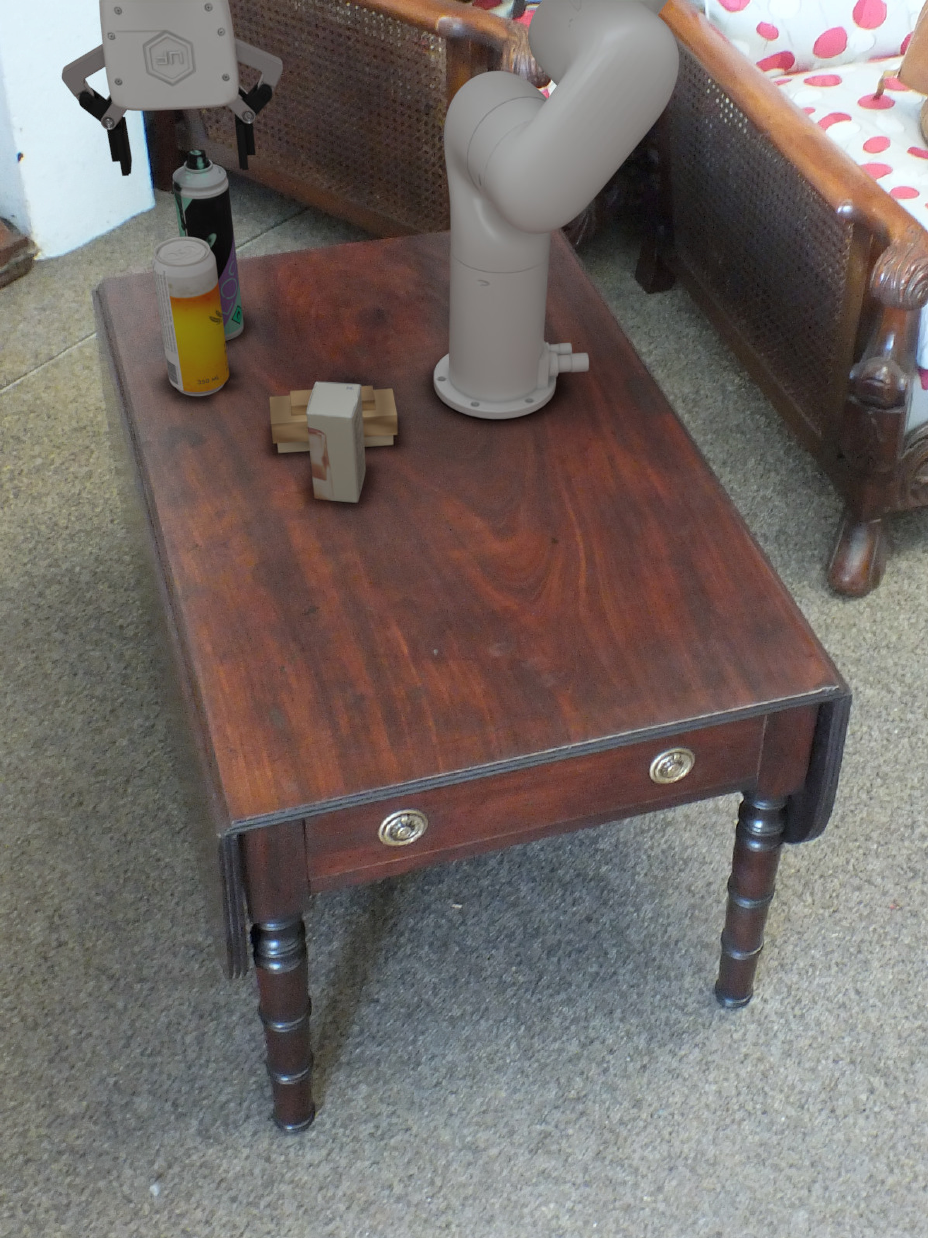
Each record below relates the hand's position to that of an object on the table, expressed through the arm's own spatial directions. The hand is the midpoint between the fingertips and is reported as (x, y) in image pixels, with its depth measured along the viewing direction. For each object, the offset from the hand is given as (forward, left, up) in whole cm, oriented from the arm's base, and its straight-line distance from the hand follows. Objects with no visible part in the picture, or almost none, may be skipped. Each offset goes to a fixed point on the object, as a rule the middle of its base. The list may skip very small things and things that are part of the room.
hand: (185, 165), depth 115 cm
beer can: (+2, -10, -28) cm, 30 cm away
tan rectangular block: (-11, +1, -28) cm, 30 cm away
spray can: (0, -20, -28) cm, 35 cm away
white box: (-11, +9, -28) cm, 32 cm away
